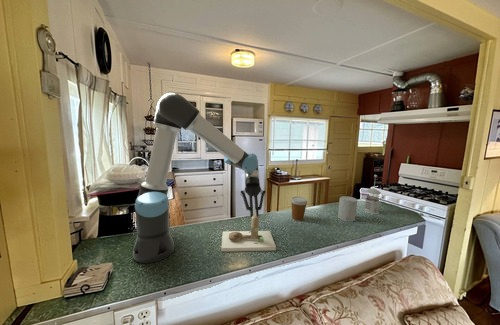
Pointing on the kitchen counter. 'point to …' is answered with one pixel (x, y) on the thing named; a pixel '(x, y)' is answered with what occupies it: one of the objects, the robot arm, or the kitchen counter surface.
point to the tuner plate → (248, 242)
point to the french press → (372, 201)
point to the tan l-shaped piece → (254, 235)
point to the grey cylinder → (347, 208)
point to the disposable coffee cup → (298, 208)
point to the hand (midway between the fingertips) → (255, 224)
